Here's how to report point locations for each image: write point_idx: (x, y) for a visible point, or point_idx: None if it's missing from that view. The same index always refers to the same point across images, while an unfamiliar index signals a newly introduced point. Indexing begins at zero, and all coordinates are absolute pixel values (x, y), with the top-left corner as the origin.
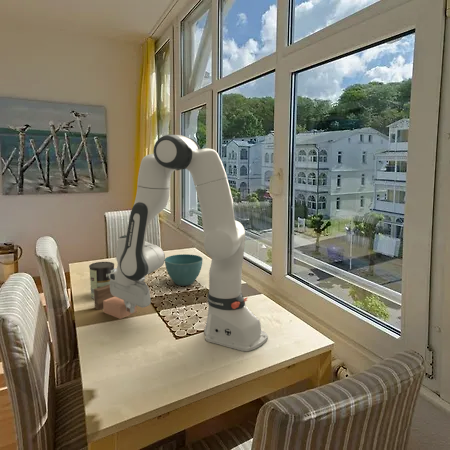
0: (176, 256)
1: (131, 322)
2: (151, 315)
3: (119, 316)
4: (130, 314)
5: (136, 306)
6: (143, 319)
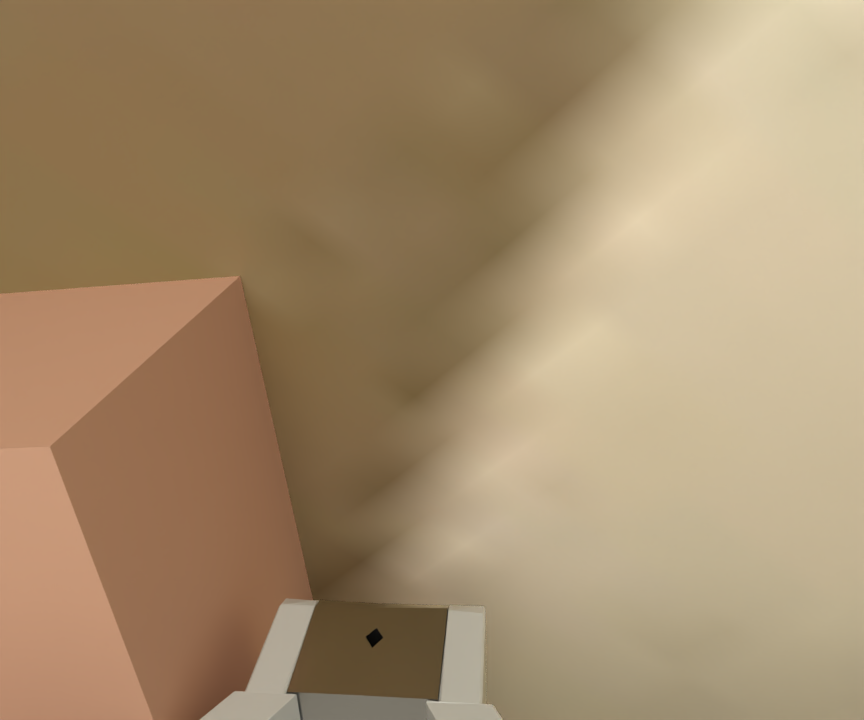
0: None
1: (625, 649)
2: (741, 155)
3: None
4: (278, 456)
5: (175, 338)
6: (734, 439)
